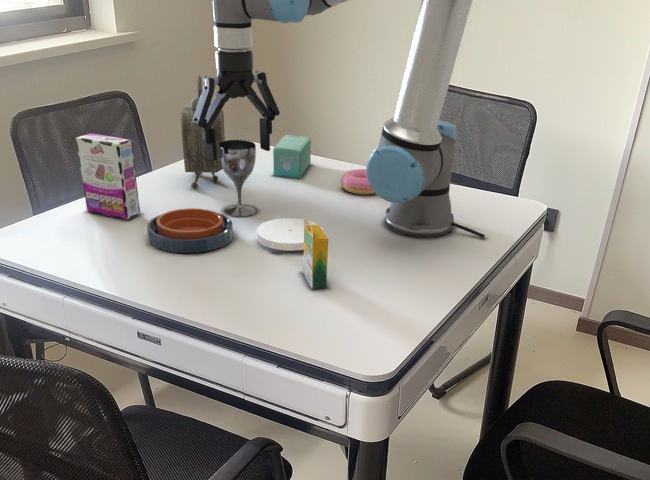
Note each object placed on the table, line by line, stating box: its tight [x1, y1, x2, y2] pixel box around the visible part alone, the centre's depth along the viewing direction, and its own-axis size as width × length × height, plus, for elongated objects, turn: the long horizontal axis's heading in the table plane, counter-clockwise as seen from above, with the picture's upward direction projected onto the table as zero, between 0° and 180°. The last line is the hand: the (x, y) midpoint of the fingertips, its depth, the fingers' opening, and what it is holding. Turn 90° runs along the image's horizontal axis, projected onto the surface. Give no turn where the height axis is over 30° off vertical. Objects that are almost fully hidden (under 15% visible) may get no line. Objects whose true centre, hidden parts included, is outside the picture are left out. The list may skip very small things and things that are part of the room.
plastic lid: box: [255, 217, 325, 252], centre depth 152 cm, size 14×14×2 cm
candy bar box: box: [75, 132, 141, 221], centre depth 157 cm, size 11×5×16 cm, turn 68°
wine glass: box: [219, 139, 257, 218], centre depth 162 cm, size 8×8×15 cm
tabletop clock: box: [180, 75, 226, 189], centre depth 176 cm, size 14×9×25 cm, turn 6°
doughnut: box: [340, 168, 376, 195], centre depth 182 cm, size 11×11×4 cm
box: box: [272, 134, 312, 179], centre depth 192 cm, size 7×14×8 cm, turn 171°
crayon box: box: [302, 216, 329, 290], centre depth 134 cm, size 7×3×12 cm, turn 17°
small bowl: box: [156, 207, 224, 239], centre depth 151 cm, size 13×13×4 cm
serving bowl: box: [146, 212, 234, 254], centre depth 151 cm, size 17×17×3 cm
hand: (239, 154), depth 159 cm, fingers open, 13 cm apart
